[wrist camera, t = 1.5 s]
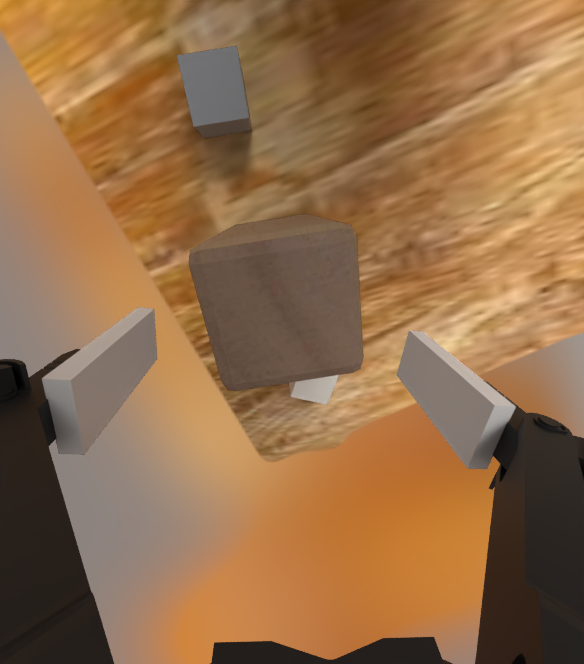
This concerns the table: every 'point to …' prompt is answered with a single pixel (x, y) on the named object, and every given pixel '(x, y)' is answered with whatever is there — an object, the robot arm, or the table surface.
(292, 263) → the block
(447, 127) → the table surface
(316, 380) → the white cube
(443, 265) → the table surface
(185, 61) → the slate cube
